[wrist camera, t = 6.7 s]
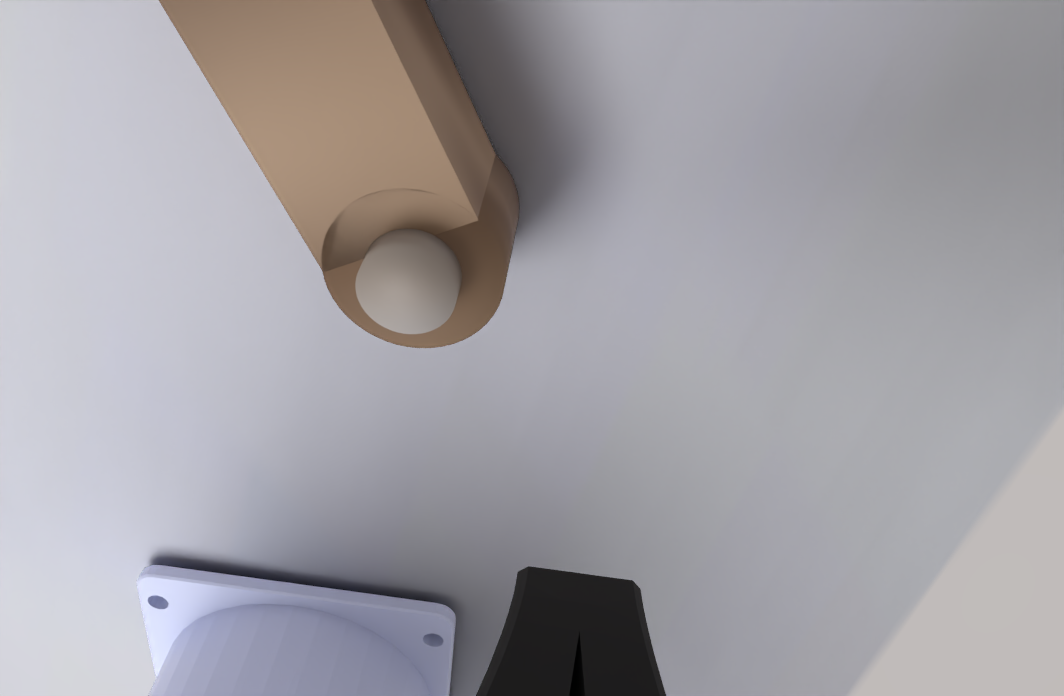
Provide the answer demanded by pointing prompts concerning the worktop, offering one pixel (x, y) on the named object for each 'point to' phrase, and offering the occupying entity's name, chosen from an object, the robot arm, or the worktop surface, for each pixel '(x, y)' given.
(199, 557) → the worktop surface
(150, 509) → the worktop surface
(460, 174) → the link
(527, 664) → the robot arm
